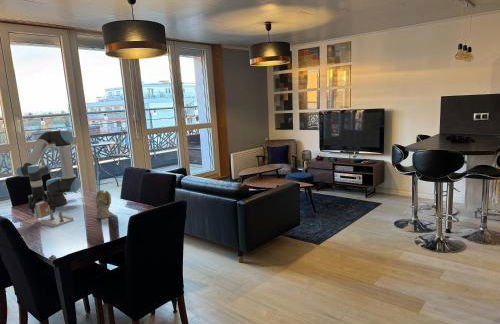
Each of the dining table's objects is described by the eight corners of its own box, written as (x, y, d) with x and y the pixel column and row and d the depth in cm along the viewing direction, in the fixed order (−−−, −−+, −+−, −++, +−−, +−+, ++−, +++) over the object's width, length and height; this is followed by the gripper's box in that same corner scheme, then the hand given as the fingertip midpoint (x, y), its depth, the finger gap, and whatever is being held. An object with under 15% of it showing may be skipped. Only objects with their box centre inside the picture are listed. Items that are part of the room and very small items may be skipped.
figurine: (96, 220, 246) (92, 193, 242) (95, 216, 256) (91, 190, 253) (113, 217, 251) (110, 190, 248) (112, 213, 261) (108, 187, 258)
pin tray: (59, 217, 258) (58, 207, 257) (73, 220, 249) (71, 209, 247) (40, 223, 247) (38, 212, 245) (54, 226, 237) (52, 215, 236)
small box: (41, 218, 250) (39, 204, 248) (35, 218, 251) (32, 204, 249) (50, 214, 258) (47, 201, 256) (43, 214, 259) (41, 201, 257)
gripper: (49, 182, 261) (54, 209, 265) (18, 189, 243) (24, 219, 247) (54, 182, 257) (59, 211, 261) (23, 190, 239) (29, 220, 243)
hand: (42, 215), depth 254 cm, fingers closed on small box, 9 cm apart
